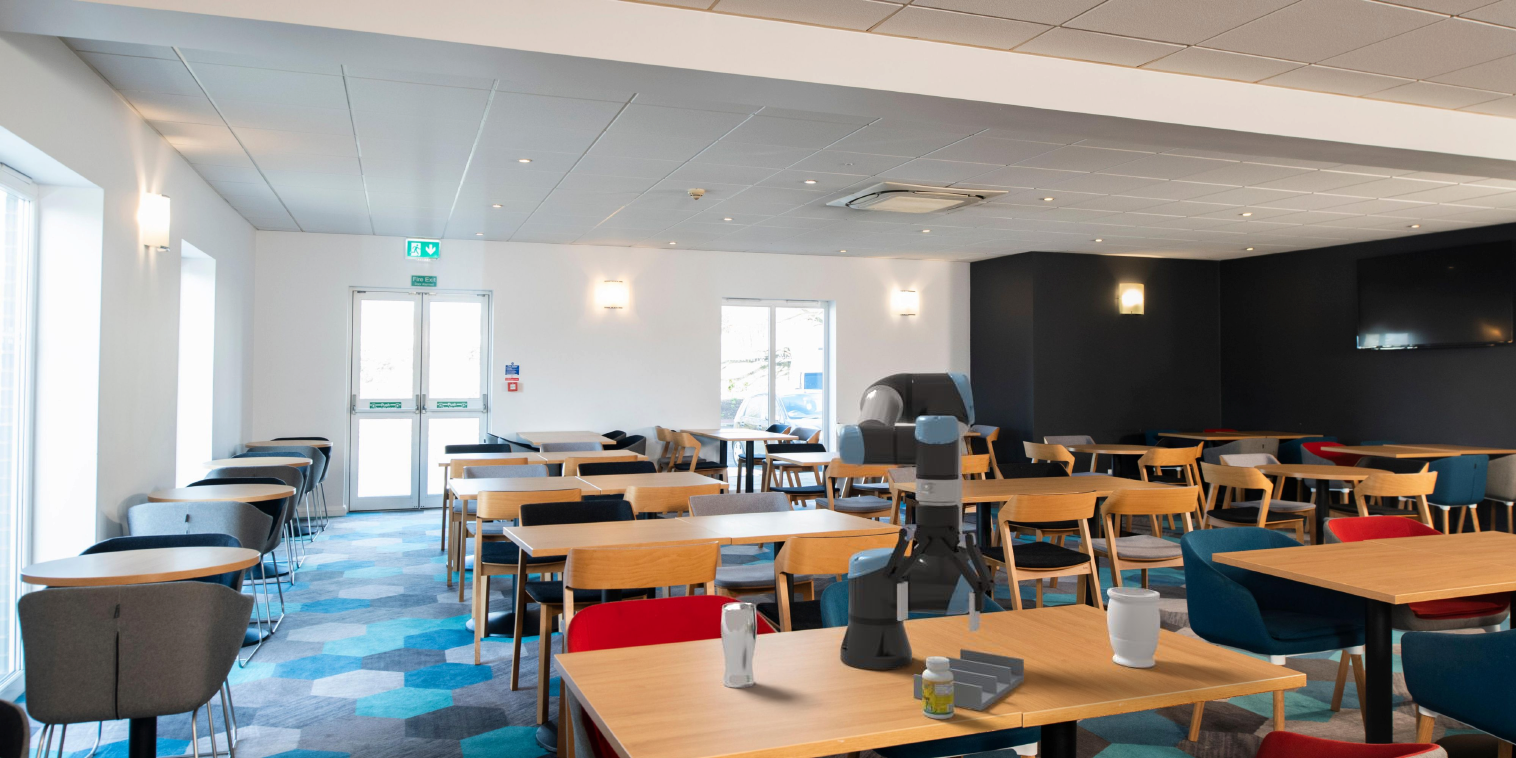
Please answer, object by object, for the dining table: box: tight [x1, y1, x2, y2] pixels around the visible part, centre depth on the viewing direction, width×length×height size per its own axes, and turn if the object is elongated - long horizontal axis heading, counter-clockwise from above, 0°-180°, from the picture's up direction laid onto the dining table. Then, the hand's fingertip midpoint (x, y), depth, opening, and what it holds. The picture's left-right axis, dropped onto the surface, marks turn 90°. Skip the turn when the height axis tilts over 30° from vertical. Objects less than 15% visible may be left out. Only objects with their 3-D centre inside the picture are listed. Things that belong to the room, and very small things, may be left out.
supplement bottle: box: [921, 656, 955, 720], centre depth 160 cm, size 5×5×10 cm
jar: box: [1106, 586, 1161, 669], centre depth 192 cm, size 11×10×15 cm
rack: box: [913, 648, 1025, 712], centre depth 174 cm, size 13×22×4 cm, turn 145°
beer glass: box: [720, 601, 758, 689], centre depth 178 cm, size 7×7×15 cm
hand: (937, 624), depth 160 cm, fingers open, 13 cm apart
